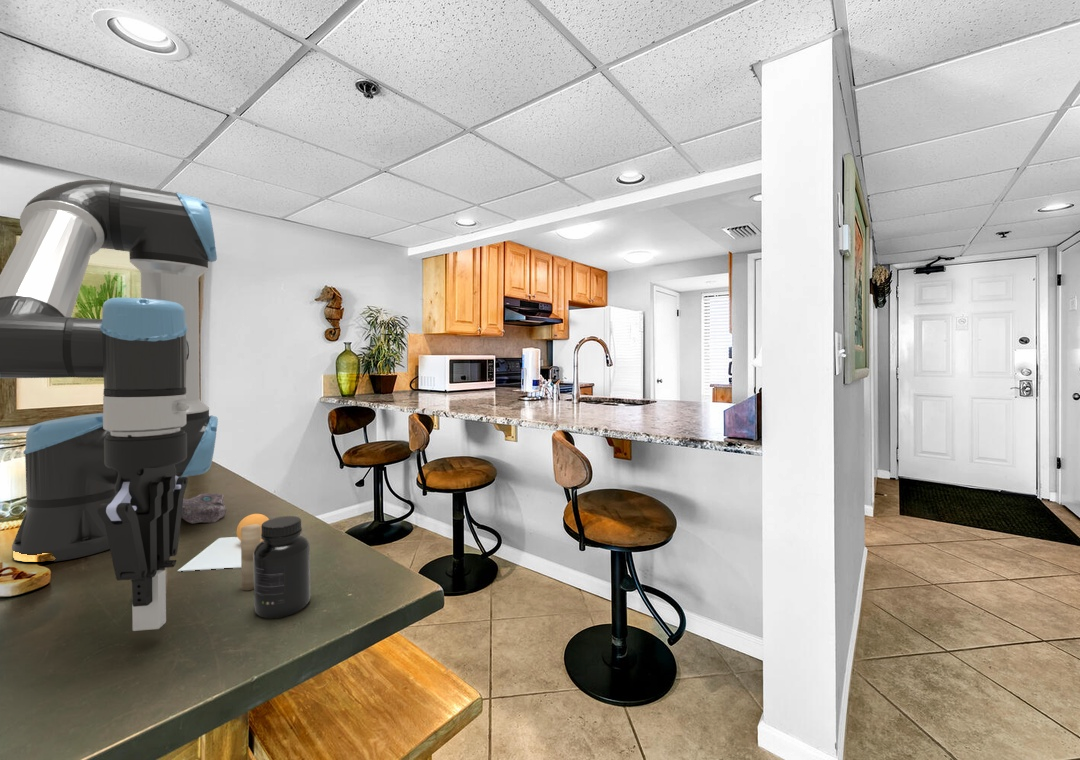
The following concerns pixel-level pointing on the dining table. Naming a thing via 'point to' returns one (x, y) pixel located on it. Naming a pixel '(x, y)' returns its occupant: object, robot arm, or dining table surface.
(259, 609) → the supplement bottle
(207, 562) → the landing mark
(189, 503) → the rock
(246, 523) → the ball
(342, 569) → the dining table surface
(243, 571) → the post
